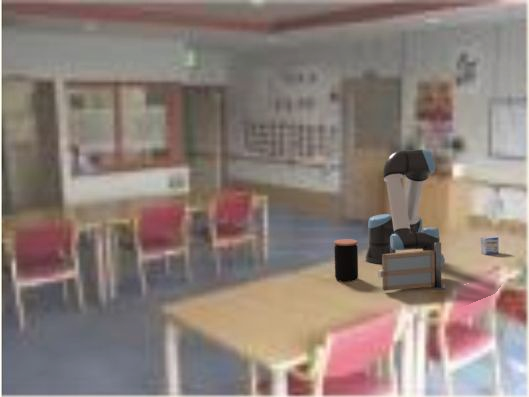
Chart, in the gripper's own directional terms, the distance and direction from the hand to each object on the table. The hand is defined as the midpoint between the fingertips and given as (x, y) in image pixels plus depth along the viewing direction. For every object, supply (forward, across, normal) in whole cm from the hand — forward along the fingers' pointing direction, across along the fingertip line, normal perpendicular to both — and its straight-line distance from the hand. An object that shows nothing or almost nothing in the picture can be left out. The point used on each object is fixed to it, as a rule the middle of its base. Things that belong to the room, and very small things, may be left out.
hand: (379, 274), depth 301 cm
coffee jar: (-5, +26, -8) cm, 28 cm away
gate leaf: (-11, -7, -7) cm, 15 cm away
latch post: (-23, +14, -8) cm, 28 cm away
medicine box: (-94, +13, -8) cm, 95 cm away
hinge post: (-23, -12, -8) cm, 27 cm away
